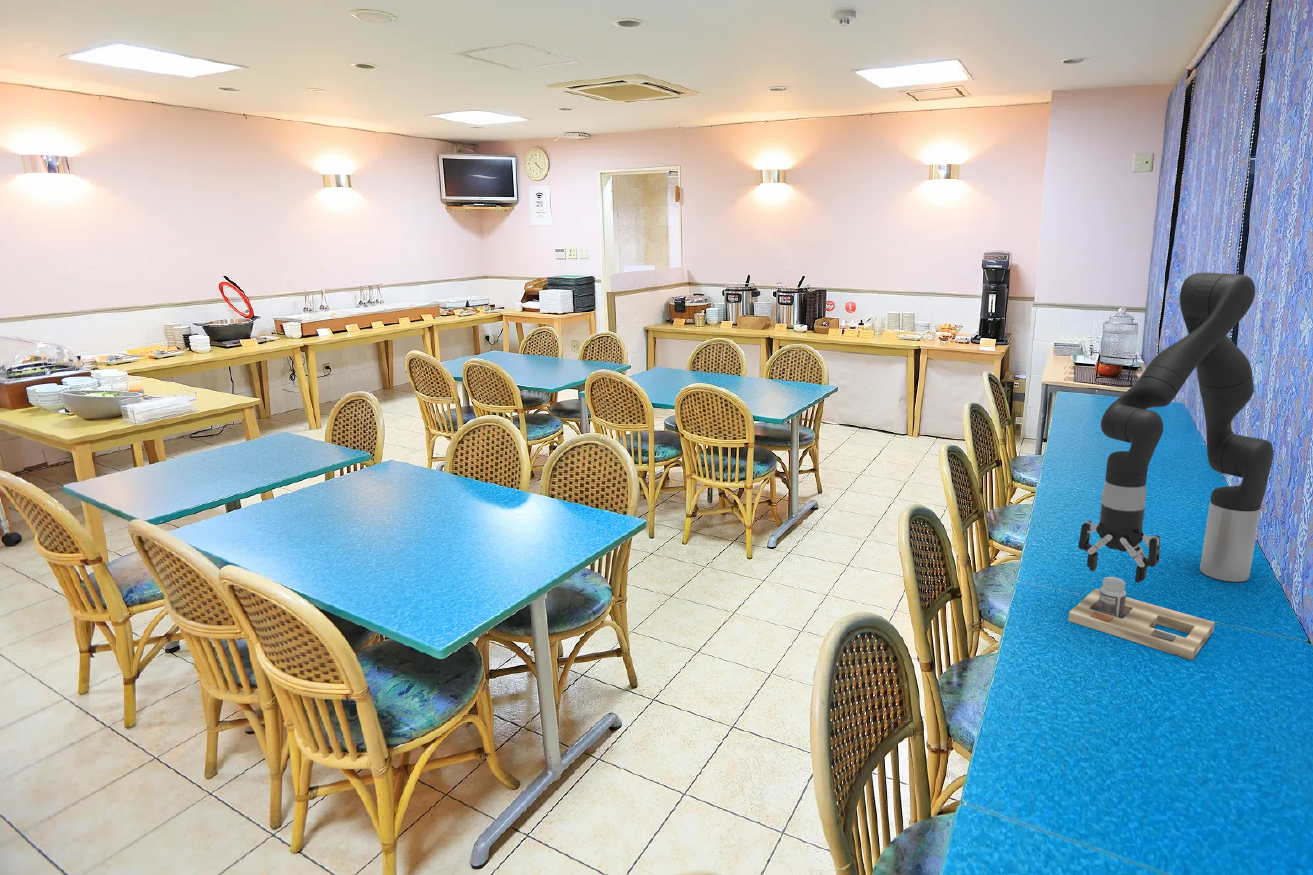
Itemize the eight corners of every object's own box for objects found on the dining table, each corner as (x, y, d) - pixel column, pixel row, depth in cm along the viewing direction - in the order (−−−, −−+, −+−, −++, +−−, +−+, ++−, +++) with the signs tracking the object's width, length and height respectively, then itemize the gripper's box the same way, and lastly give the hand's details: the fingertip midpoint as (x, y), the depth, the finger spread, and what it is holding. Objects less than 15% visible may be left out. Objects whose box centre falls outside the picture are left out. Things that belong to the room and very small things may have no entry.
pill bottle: (1113, 610, 160) (1118, 575, 158) (1128, 621, 156) (1132, 585, 153) (1092, 612, 160) (1096, 576, 158) (1105, 623, 155) (1110, 586, 153)
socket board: (1094, 596, 166) (1095, 587, 166) (1213, 630, 150) (1215, 620, 150) (1068, 620, 157) (1069, 610, 156) (1192, 660, 141) (1193, 649, 140)
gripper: (1169, 505, 148) (1160, 579, 153) (1091, 490, 159) (1085, 560, 163) (1157, 516, 144) (1148, 592, 148) (1078, 500, 154) (1071, 571, 158)
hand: (1115, 575), depth 155 cm, fingers open, 8 cm apart
